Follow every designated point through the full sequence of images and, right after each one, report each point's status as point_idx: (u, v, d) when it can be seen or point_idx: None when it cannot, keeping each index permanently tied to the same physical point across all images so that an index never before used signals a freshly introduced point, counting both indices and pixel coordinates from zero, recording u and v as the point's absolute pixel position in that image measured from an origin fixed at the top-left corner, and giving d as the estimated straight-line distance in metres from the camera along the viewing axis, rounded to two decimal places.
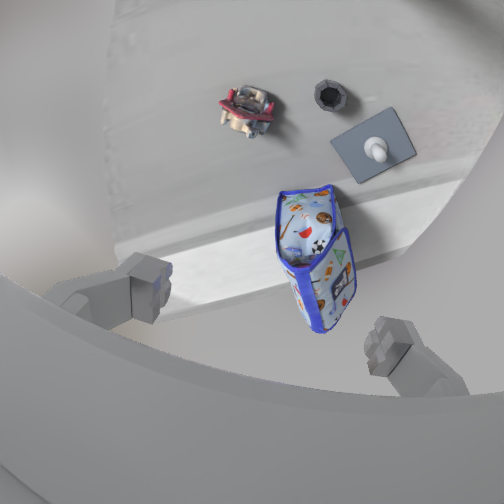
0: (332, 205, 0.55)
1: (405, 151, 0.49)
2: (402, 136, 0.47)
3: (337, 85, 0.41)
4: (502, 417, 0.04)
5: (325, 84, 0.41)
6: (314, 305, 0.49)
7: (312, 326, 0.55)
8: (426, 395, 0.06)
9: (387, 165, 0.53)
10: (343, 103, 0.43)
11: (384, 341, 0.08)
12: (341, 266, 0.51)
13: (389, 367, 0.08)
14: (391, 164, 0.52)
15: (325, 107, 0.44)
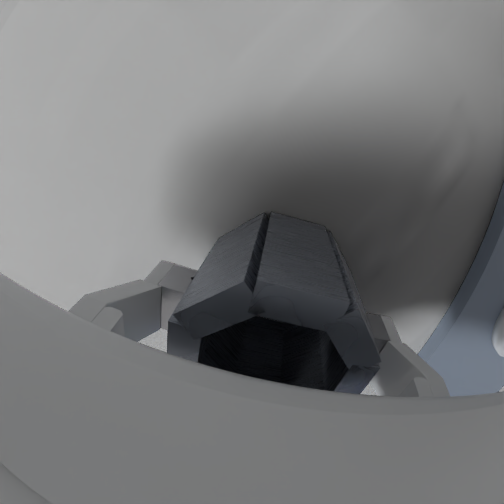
0: None
1: None
2: None
3: (241, 293, 0.06)
4: (502, 417, 0.04)
5: (177, 334, 0.07)
6: None
7: None
8: (401, 395, 0.06)
9: None
10: (365, 359, 0.06)
11: None
12: None
13: None
14: None
15: None
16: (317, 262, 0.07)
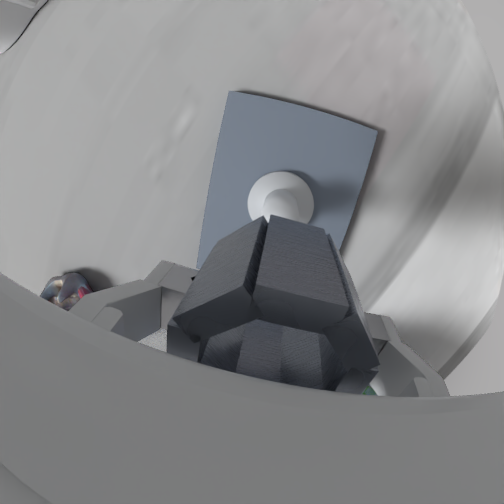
0: None
1: (351, 148, 0.19)
2: (312, 123, 0.19)
3: (240, 297, 0.06)
4: (502, 417, 0.04)
5: (176, 337, 0.07)
6: None
7: None
8: (401, 395, 0.06)
9: (342, 215, 0.22)
10: (364, 362, 0.06)
11: None
12: None
13: None
14: (350, 204, 0.21)
15: None
16: (316, 265, 0.07)
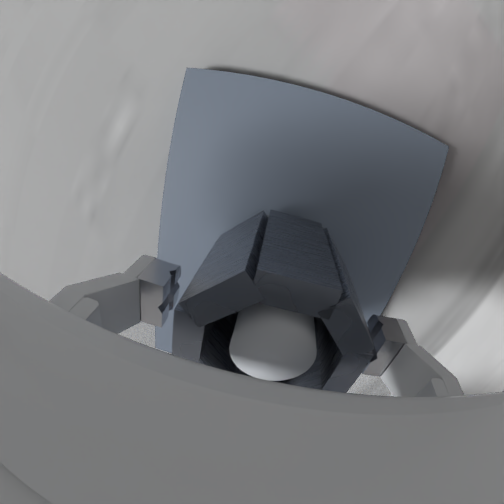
0: None
1: (408, 174, 0.10)
2: (341, 126, 0.10)
3: (242, 282, 0.06)
4: (502, 417, 0.04)
5: (182, 322, 0.07)
6: None
7: None
8: (419, 395, 0.06)
9: (381, 287, 0.12)
10: (359, 346, 0.07)
11: (376, 340, 0.08)
12: None
13: (381, 366, 0.08)
14: (395, 270, 0.12)
15: None
16: (313, 255, 0.08)
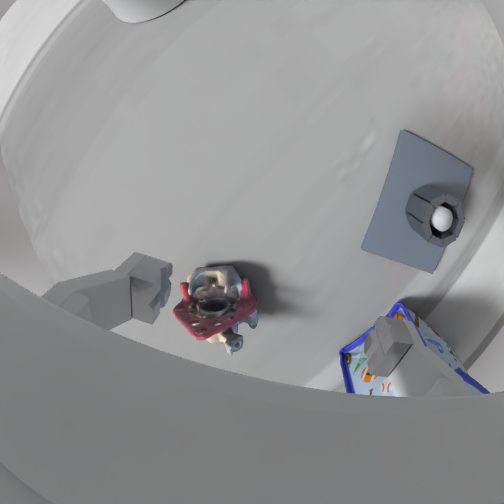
0: None
1: (460, 178, 0.26)
2: (444, 160, 0.26)
3: (443, 196, 0.23)
4: (502, 417, 0.04)
5: (429, 207, 0.23)
6: None
7: None
8: (426, 395, 0.06)
9: None
10: (462, 217, 0.23)
11: (384, 341, 0.08)
12: None
13: (389, 367, 0.08)
14: None
15: (444, 241, 0.24)
16: None
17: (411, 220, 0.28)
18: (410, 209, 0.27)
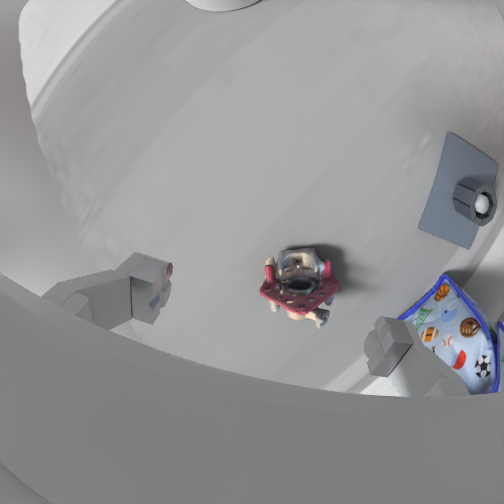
0: (465, 301, 0.31)
1: (489, 171, 0.29)
2: (478, 157, 0.29)
3: (484, 186, 0.25)
4: (502, 417, 0.04)
5: (474, 194, 0.26)
6: None
7: None
8: (426, 395, 0.06)
9: None
10: (495, 202, 0.26)
11: (384, 341, 0.08)
12: None
13: (389, 367, 0.08)
14: None
15: (483, 221, 0.27)
16: None
17: (458, 205, 0.30)
18: (457, 196, 0.30)
